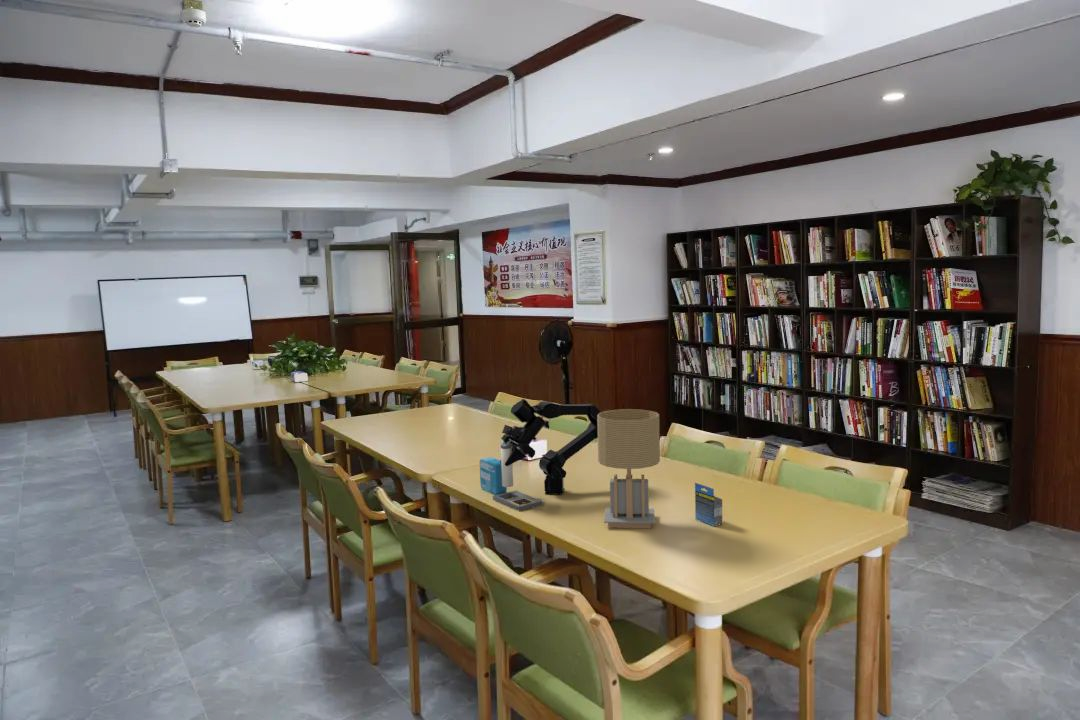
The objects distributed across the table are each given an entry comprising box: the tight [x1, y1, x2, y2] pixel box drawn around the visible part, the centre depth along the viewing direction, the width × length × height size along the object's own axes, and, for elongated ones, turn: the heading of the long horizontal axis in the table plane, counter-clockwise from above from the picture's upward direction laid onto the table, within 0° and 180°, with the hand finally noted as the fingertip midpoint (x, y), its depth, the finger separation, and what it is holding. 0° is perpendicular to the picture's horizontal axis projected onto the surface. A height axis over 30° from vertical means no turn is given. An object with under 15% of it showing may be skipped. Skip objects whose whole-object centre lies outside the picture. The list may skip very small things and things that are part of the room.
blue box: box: [479, 456, 508, 495], centre depth 269 cm, size 12×4×12 cm, turn 35°
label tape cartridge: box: [694, 482, 723, 527], centre depth 228 cm, size 9×4×12 cm, turn 30°
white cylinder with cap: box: [500, 443, 514, 488], centre depth 256 cm, size 4×4×15 cm
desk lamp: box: [597, 408, 661, 529], centre depth 229 cm, size 20×20×35 cm
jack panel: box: [492, 490, 544, 512], centre depth 255 cm, size 10×17×2 cm, turn 36°
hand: (503, 464), depth 256 cm, fingers closed on white cylinder with cap, 4 cm apart
